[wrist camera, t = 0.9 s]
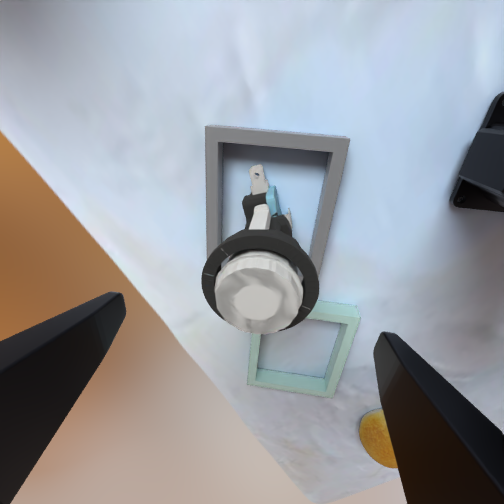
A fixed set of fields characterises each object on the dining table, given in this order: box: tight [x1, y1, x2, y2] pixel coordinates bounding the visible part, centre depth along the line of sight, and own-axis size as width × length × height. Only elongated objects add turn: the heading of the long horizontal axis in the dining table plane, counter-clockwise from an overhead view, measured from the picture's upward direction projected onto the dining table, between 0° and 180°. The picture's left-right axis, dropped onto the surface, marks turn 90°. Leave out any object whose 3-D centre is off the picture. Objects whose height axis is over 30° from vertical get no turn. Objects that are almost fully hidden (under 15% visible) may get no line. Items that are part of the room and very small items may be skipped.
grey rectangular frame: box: [205, 125, 350, 283], centre depth 19 cm, size 9×11×2 cm
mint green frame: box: [247, 301, 361, 398], centre depth 25 cm, size 9×11×2 cm
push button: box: [202, 164, 319, 334], centre depth 15 cm, size 7×5×10 cm
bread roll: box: [359, 409, 398, 468], centre depth 28 cm, size 8×9×4 cm
